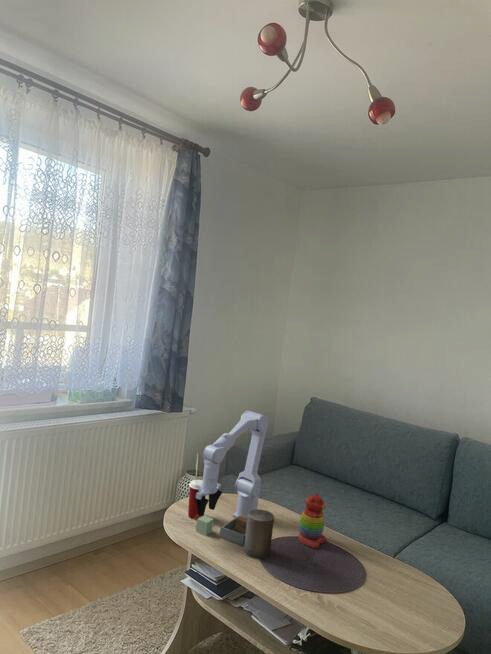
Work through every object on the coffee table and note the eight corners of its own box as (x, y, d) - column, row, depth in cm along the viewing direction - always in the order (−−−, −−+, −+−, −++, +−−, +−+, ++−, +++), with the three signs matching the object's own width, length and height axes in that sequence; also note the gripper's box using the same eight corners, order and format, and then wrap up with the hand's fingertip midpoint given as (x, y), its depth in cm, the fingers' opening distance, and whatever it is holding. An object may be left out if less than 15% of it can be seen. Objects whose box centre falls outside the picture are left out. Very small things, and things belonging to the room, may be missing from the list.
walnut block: (240, 526, 190) (241, 514, 190) (250, 530, 188) (251, 518, 188) (234, 530, 186) (236, 518, 186) (244, 534, 184) (246, 522, 184)
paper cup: (203, 521, 192) (207, 487, 192) (184, 519, 193) (188, 484, 192) (205, 513, 200) (209, 480, 200) (187, 510, 200) (190, 477, 200)
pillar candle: (275, 555, 173) (280, 514, 173) (254, 561, 167) (259, 519, 167) (258, 543, 181) (262, 503, 180) (237, 548, 175) (242, 508, 174)
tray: (237, 525, 193) (238, 515, 193) (259, 533, 188) (260, 523, 188) (219, 537, 181) (220, 527, 181) (242, 546, 176) (243, 536, 176)
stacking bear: (316, 550, 180) (322, 504, 179) (292, 540, 186) (298, 495, 185) (328, 540, 189) (333, 496, 188) (305, 531, 195) (310, 488, 194)
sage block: (202, 527, 187) (203, 515, 187) (212, 531, 185) (213, 518, 185) (195, 531, 183) (197, 519, 183) (205, 535, 181) (207, 522, 181)
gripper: (211, 469, 192) (207, 503, 192) (191, 479, 179) (186, 514, 179) (227, 474, 188) (222, 508, 189) (206, 484, 175) (202, 520, 176)
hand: (206, 512), depth 184 cm, fingers open, 7 cm apart
